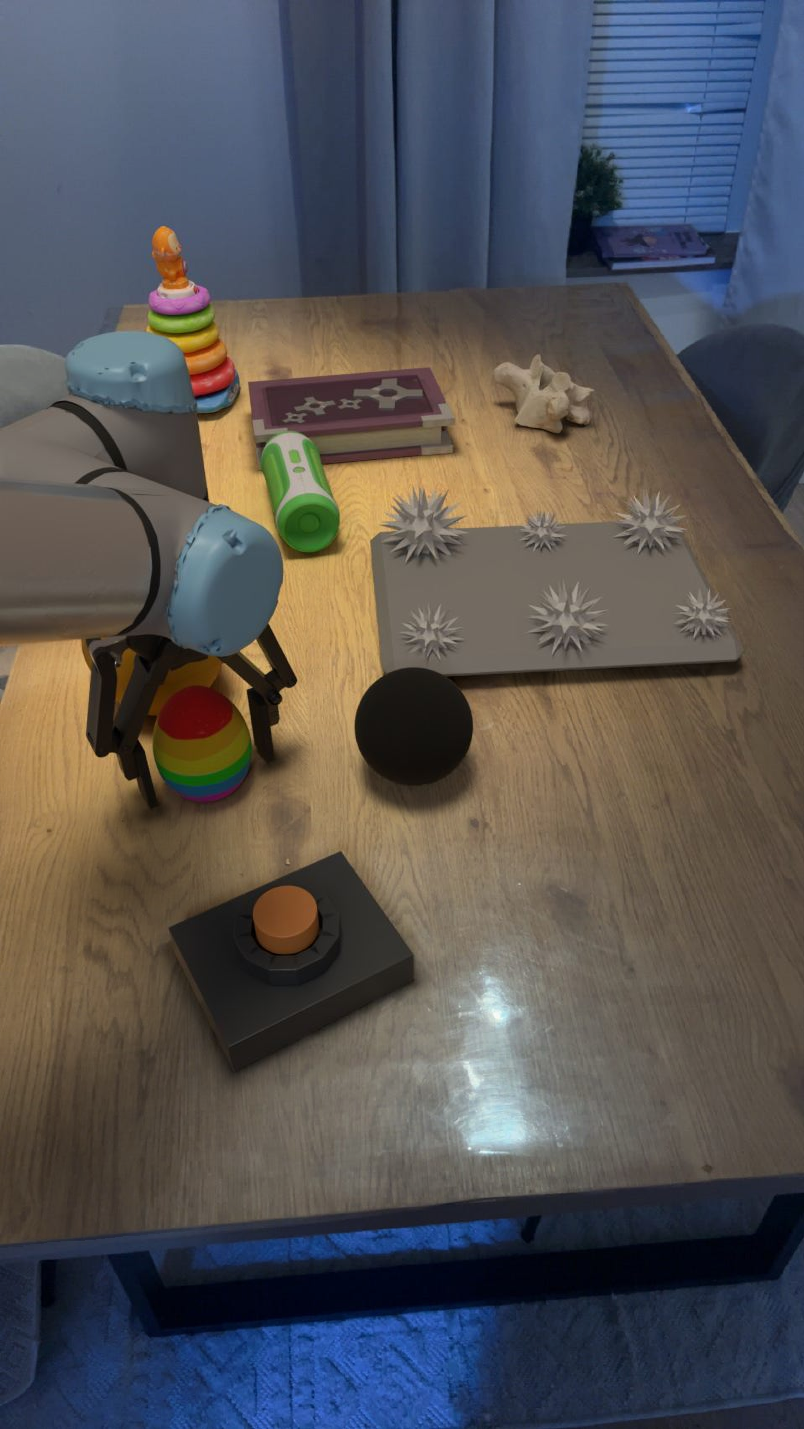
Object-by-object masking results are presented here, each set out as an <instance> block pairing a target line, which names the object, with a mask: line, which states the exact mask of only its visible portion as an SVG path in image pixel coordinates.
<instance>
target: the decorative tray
mask: <svg viewBox="0 0 804 1429" xmlns="http://www.w3.org/2000/svg"><path fill="white" fill-rule="evenodd" d="M437 487H438V485H436V486H435V487H434V490H433V492H432V494H431V496H430V498H429V500H427V495H426V491H425V489H423V490H422V487H421V483H420V482H419V483H418V495H417V492H416V490H415V487H414V485H413V484H412V496H411V495H410V492H408V491H406V494H407V498H408V502H409V503H408V502H407V501H406V500H404V498H402V497H401V496H400V495H399V494H397V493H395V495H396V497H397V498H398V499H399V500H398V499H396V498H395V497H393V496H391V498H392V499H393V501H394V502H395V503H396V505H397V507H398V508H397V507H396V506H393V505H392V504H389V506H390V507H391V508H392V509H393V510H394V512H396V513H397V514H395V513H390V512H385V511H384V512H383V513H384V514H386V515H387V516H389V517H390V518H392V519H394V520H381V523H385V524H380V526H381V527H385V528H388V529H392V530H391V531H390V530H388V531H379V532H378V533H377V534H376V535H374V537H373V538H371V539H370V540H369V544H370V554H371V555H370V556H371V567H372V577H373V578H372V579H373V590H374V599H375V609H376V618H377V619H376V621H377V630H378V631H377V632H378V641H379V654H380V663H381V672H383V673H384V674H387V673H389V672H392V671H394V670H398V669H402V668H408V667H419V668H426V669H430V670H433V671H436V672H438V673H440V674H442V675H444V676H446V677H447V678H449V677H466V676H483V675H484V676H485V675H503V674H507V675H508V674H523V673H526V674H527V673H546V672H562V671H563V672H564V671H583V670H585V671H586V670H601V669H621V668H640V667H641V668H642V667H643V668H644V667H660V666H661V667H662V666H683V665H700V664H703V665H704V664H715V663H716V664H719V663H720V664H721V663H734V662H737V661H738V660H739V659H740V657H741V656H742V655H743V654H744V653H745V648H744V647H743V644H742V642H741V641H740V639H739V637H738V635H737V632H736V631H735V629H734V628H733V626H732V623H731V622H730V620H731V619H732V618H731V617H730V618H729V617H727V614H726V613H727V612H730V611H731V609H732V607H729V608H723V607H722V606H723V605H724V604H725V601H726V599H724V600H719V599H718V596H719V594H720V593H721V591H719V592H718V593H717V594H716V593H715V591H714V589H713V588H712V586H711V584H710V582H709V580H708V578H707V576H706V575H705V572H704V571H703V568H702V567H701V564H700V563H699V561H698V559H697V558H696V555H695V553H694V551H693V550H692V547H691V546H690V544H689V542H688V540H687V539H686V538H687V537H685V535H684V534H685V533H684V531H687V530H688V529H687V528H684V527H680V525H678V524H677V523H676V522H677V521H679V520H682V519H684V518H687V516H688V514H684V515H678V516H671V515H672V514H673V513H674V512H675V511H676V510H677V509H678V508H679V507H680V506H681V505H682V503H680V504H678V505H676V506H674V507H671V508H669V509H667V508H666V507H667V506H668V504H669V501H670V499H671V497H672V495H673V493H671V494H669V495H668V496H667V497H666V498H665V500H663V502H662V499H660V496H661V495H660V494H661V491H660V490H659V492H658V493H657V494H656V492H654V495H653V498H652V500H651V501H650V497H649V493H648V490H647V489H645V490H643V493H642V494H643V496H642V504H641V502H640V501H639V500H638V498H636V496H635V495H634V494H633V498H632V497H629V499H630V501H631V503H632V505H633V506H632V505H631V504H629V503H628V502H627V501H625V500H622V502H624V504H625V506H626V508H627V510H628V511H629V512H630V514H631V515H630V514H625V513H621V512H613V513H615V514H616V515H618V516H620V517H621V518H623V519H617V520H616V521H595V522H576V523H575V522H573V523H561V522H562V520H563V518H561V519H559V520H556V521H554V520H555V517H556V514H557V512H553V513H552V514H551V515H550V510H548V511H547V513H546V511H543V514H542V511H541V509H539V510H538V509H536V515H535V514H534V513H533V512H531V515H532V516H531V515H530V514H529V513H527V515H528V517H529V518H528V517H527V516H526V515H524V517H525V522H526V523H527V524H528V525H526V524H522V523H519V525H507V526H506V525H505V526H484V527H483V526H482V527H481V526H479V527H461V528H460V527H459V528H458V527H457V528H453V527H452V526H454V525H456V524H459V523H460V522H459V521H460V520H463V519H464V518H465V517H468V515H461V516H453V517H448V516H449V515H450V514H451V513H452V512H453V511H454V510H455V509H456V508H457V507H459V505H460V504H461V503H462V501H460V502H458V503H456V504H454V505H452V506H450V504H448V505H446V506H445V507H443V505H444V502H445V500H446V497H447V495H448V493H449V490H447V491H446V492H445V493H444V494H443V491H441V492H440V493H439V494H438V496H437V497H436V494H437ZM633 499H634V500H633ZM442 507H443V508H442ZM666 509H667V510H666ZM549 515H550V516H549ZM670 516H671V517H670Z"/></svg>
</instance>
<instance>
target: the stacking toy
mask: <svg viewBox="0 0 804 1429" xmlns="http://www.w3.org/2000/svg"><path fill="white" fill-rule="evenodd" d="M151 245H152V251H151V256H152V258H153V260H155V261H156V264H155V265H156V269H157V272H158V273H159V276H161V277H163V278H162V280H161V281H162V282H161V283H159V285H158V287H157V289H155V290H153V291H151V292H150V293H149V296H148V306H149V308H150V309H149V312H148V314H147V322H148V326H147V327H146V330H145V332H150V333H153V334H156V335H160V336H164V337H166V338H168V339H170V340H171V341H173V342H174V343H175V344H176V345H177V346H178V347H179V348H180V349H181V351H182V352H183V354H184V357H185V360H186V364H187V367H188V371H189V375H190V379H191V384H192V388H193V393H194V397H195V400H196V402H197V408H198V409H197V414H211V413H216V412H218V411H221V409H223V408H224V409H225V408H229V407H230V406H231V405H232V404H233V402H234V401H235V399H236V397H237V395H238V393H239V390H240V384H241V383H240V376H239V372H238V370H237V369H236V366H235V363H234V361H233V360H232V359H231V358H230V356H228V348H227V346H226V344H225V342H224V341H223V340H222V339H221V338H220V330H219V326H218V325H217V323H216V322H215V321H214V320H215V318H216V313H215V309H214V307H213V305H211V304H210V303H211V295H210V292H209V290H208V289H207V288H205V287H203V286H201V285H197V284H196V283H195V282H194V281H192V280H189V279H188V277H187V276H186V275H187V273H188V271H189V266H188V262H187V261H186V260H185V259H184V257H182V256H181V253H182V252H183V251H182V250H183V249H182V245H181V244H180V242H179V240H178V238H177V235H176V233H175V231H174V230H172V229H171V228H170V227H167V226H165V225H162V226H160V227H159V228H157V229H156V230H155V232H154V233H153V236H152V242H151Z"/></svg>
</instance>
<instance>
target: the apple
mask: <svg viewBox="0 0 804 1429" xmlns="http://www.w3.org/2000/svg"><path fill="white" fill-rule="evenodd" d="M105 638H107V637H101V639H105ZM85 642H86V639H80V644H81V651H82V655H83V659H84V661H85V663H86V666H87V668H88V669H89V671H90V672H91V666H92V661H91V658H90V655H89V652H88V650H87V647H86V643H85ZM135 655H136V653H135V652H133V651H132V650H130V649H127V650H126V651H124V653H123V655H122V661H121V666H120V667H119V668H116V671H117V691H116V701H115V702H117V703H119V704H120V703H121V701H122V698H123V695H124V693H125V690H126V688H127V685H128V682H129V680H130V677H131V675H132V672H133V669H134V658H135ZM223 664H224V663H223V662H222V661H220V660H219V659H218V658H217V657H216V656H210V655H208V659H205V660H202V661H199V662H191V663H188V664H186V665H185V666H183V667H181V668H179V669H176V670H173V671H170V670H169V672H168V675H167V677H166V680H165V682H164V684H163V685H162V686H159V688H158V690H157V693H156V695H155V698H154V700H153V703H152V705H151V708H150V710H149V713H148V715H147V716H150V717H151V716H152V717H154V716H155V717H158V714H159V712H160V710H161V709H162V707H163V706H164V704H165V703H166V702H167V700H168V699H169V698H170V697H171V696H172V695H173V694H175V693H176V692H177V691H179V690H181V689H183V688H185V687H188V686H195V685H200V686H206V687H209V688H211V686H212V685H213V683H214V682H215V681H216V679H217V677H218V676H219V673H220V670H221V668H222V666H223Z"/></svg>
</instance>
